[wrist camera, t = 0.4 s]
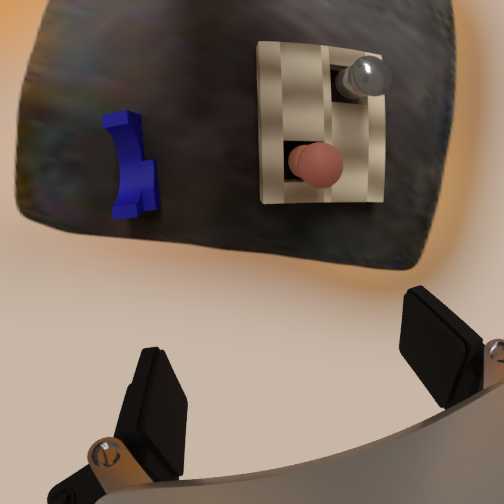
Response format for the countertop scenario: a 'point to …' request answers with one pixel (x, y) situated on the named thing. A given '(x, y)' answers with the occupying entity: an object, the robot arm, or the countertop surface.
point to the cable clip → (132, 166)
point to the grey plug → (364, 78)
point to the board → (316, 123)
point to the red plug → (316, 164)
